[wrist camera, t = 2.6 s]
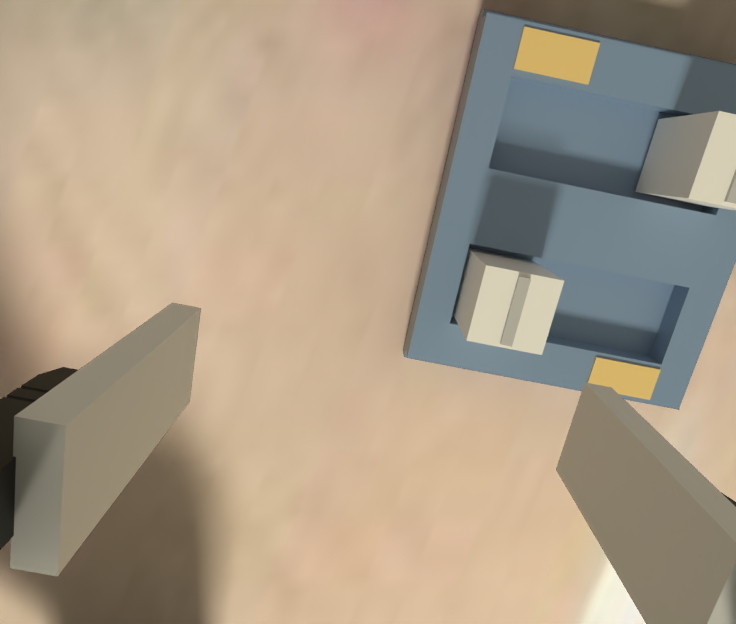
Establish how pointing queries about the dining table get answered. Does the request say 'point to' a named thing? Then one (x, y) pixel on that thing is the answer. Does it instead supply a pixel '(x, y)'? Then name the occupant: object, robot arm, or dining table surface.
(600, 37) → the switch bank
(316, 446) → the dining table surface
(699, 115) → the tab
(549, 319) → the tab
